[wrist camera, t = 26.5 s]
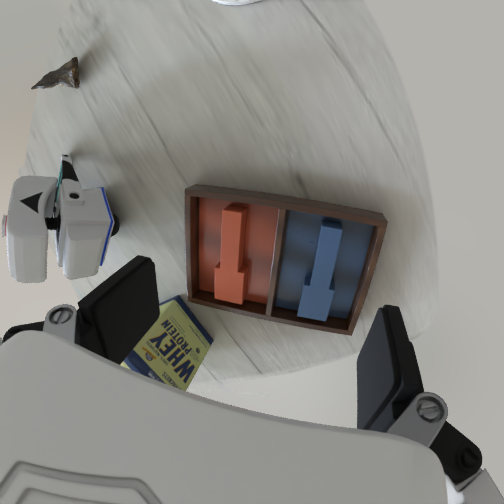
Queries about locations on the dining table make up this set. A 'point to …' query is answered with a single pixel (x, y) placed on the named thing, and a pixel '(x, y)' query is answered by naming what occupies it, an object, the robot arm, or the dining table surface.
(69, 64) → the shark head
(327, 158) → the dining table surface
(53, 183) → the robotic device
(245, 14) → the dining table surface
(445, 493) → the robot arm
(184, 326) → the protein box
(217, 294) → the orange stepped bar
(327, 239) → the blue tall stepped post
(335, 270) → the cutlery tray
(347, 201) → the dining table surface
